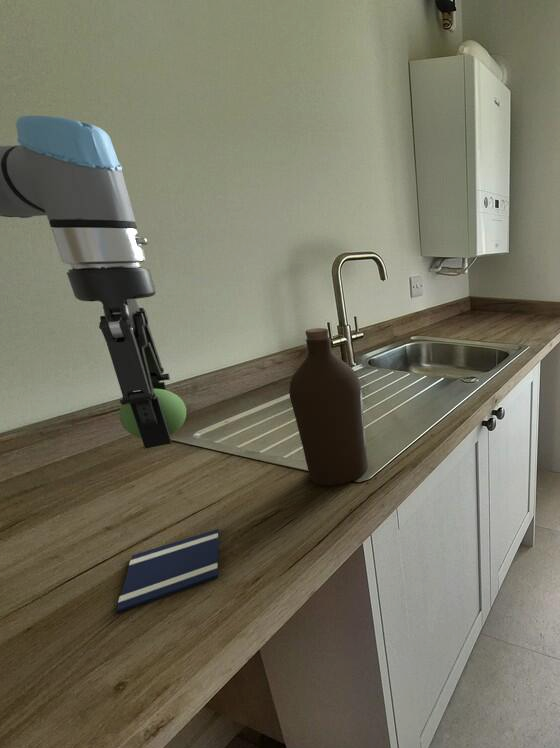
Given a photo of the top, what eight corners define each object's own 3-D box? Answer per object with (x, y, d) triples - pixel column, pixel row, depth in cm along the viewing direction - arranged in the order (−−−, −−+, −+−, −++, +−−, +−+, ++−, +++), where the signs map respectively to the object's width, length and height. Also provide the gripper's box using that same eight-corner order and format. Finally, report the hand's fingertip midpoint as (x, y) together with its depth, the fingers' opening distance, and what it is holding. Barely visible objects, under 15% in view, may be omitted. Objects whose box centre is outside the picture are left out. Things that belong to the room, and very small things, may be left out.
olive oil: (321, 496, 64) (292, 340, 56) (296, 472, 71) (267, 330, 63) (382, 470, 71) (365, 329, 63) (354, 450, 78) (335, 321, 70)
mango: (133, 433, 59) (117, 387, 56) (193, 422, 62) (181, 378, 60) (123, 453, 53) (106, 403, 51) (190, 439, 57) (176, 392, 55)
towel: (133, 557, 52) (132, 554, 52) (218, 531, 56) (217, 528, 56) (117, 613, 44) (115, 610, 44) (218, 577, 49) (217, 573, 48)
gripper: (135, 268, 44) (190, 455, 52) (157, 262, 60) (197, 407, 67) (35, 270, 41) (111, 473, 48) (87, 264, 56) (138, 417, 64)
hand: (161, 434), depth 58 cm, fingers closed on mango, 7 cm apart
